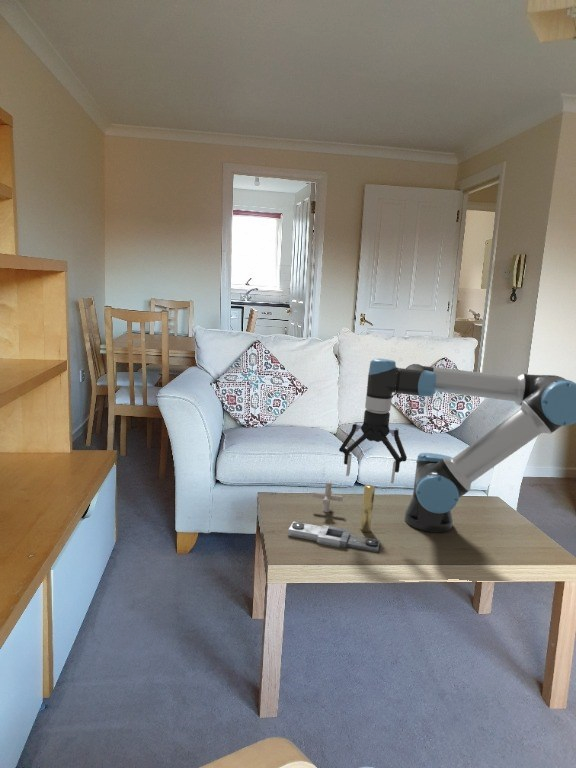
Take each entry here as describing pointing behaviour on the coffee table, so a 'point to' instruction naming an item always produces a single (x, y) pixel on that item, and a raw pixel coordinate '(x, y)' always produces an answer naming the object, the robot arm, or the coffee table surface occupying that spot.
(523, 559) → the coffee table surface
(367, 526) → the pin
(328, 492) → the pipe connector
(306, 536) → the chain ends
